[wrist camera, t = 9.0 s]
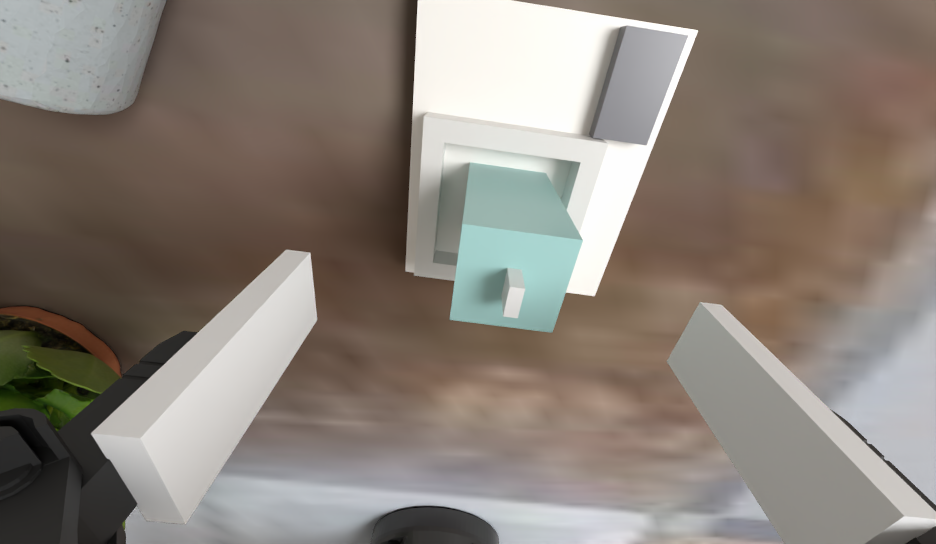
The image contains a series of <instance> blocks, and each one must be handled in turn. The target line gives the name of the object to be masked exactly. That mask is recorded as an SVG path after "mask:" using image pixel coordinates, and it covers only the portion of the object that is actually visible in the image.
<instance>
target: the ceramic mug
mask: <svg viewBox="0 0 936 544" xmlns="http://www.w3.org/2000/svg"><path fill="white" fill-rule="evenodd" d="M165 3H166V0H0V99H3V100H7V101H11V102H15V103H19V104H23V105H27V106H31V107H35V108H40V109H44V110H49V111H54V112H63V113H71V114H89V115H105V114H112V113H116V112H119V111H122V110H124V109H126V108H128V107H129V106H130V105H132V104H133V103H134V101H135V99H136V97H137V94H138V91H139V87H140V83H141V80H142V77H143V73H144V70H145V67H146V63H147V60H148V57H149V54H150V51H151V48H152V45H153V42H154V39H155V35H156V32H157V28H158V25H159V21H160V18H161V14H162V12H163V9H164V6H165Z"/></svg>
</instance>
